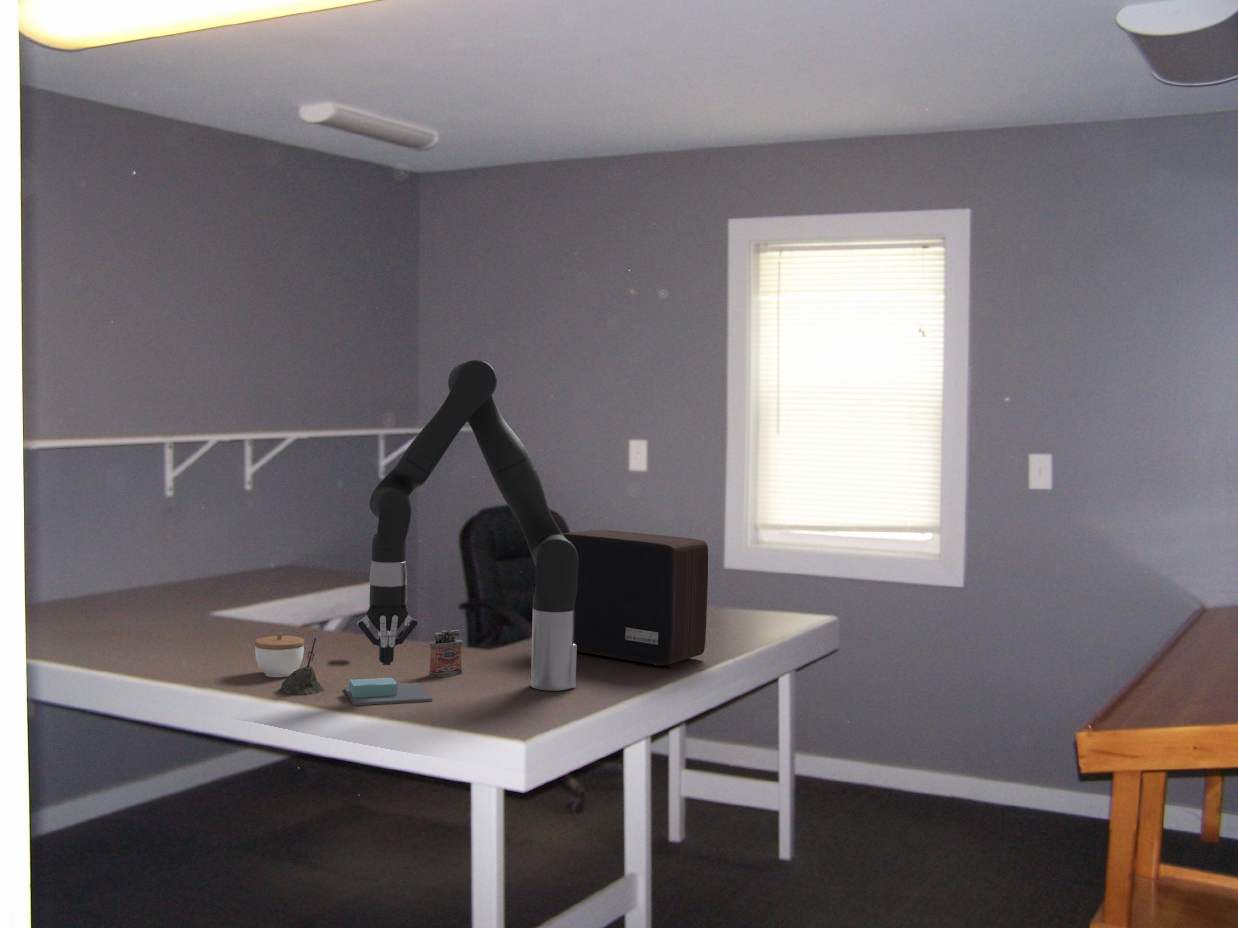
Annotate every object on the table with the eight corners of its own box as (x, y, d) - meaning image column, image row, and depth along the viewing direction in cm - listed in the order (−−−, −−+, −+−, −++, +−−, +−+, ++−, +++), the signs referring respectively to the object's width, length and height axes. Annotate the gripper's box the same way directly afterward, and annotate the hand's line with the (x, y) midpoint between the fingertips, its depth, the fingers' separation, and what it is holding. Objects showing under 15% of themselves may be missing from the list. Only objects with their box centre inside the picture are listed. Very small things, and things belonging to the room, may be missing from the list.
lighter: (433, 677, 274) (434, 633, 274) (426, 674, 277) (427, 631, 276) (464, 673, 279) (465, 630, 278) (457, 670, 282) (458, 628, 281)
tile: (392, 677, 260) (349, 679, 257) (397, 683, 254) (353, 686, 251) (392, 688, 260) (349, 690, 257) (397, 695, 254) (353, 697, 251)
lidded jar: (285, 667, 280) (285, 626, 280) (313, 674, 274) (314, 633, 273) (244, 674, 272) (245, 632, 272) (272, 682, 265) (273, 639, 265)
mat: (419, 685, 266) (419, 683, 266) (432, 701, 253) (432, 698, 253) (344, 689, 260) (344, 686, 260) (353, 705, 247) (353, 702, 247)
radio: (708, 659, 303) (712, 539, 302) (671, 671, 289) (675, 544, 287) (590, 640, 324) (593, 527, 322) (549, 650, 309) (552, 532, 307)
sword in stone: (269, 690, 258) (270, 635, 258) (298, 684, 265) (299, 630, 264) (302, 698, 253) (303, 641, 252) (330, 691, 260) (331, 636, 259)
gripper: (358, 585, 249) (356, 669, 250) (423, 584, 254) (421, 666, 255) (353, 580, 256) (351, 661, 257) (416, 579, 261) (414, 659, 262)
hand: (386, 664), depth 256 cm, fingers closed
